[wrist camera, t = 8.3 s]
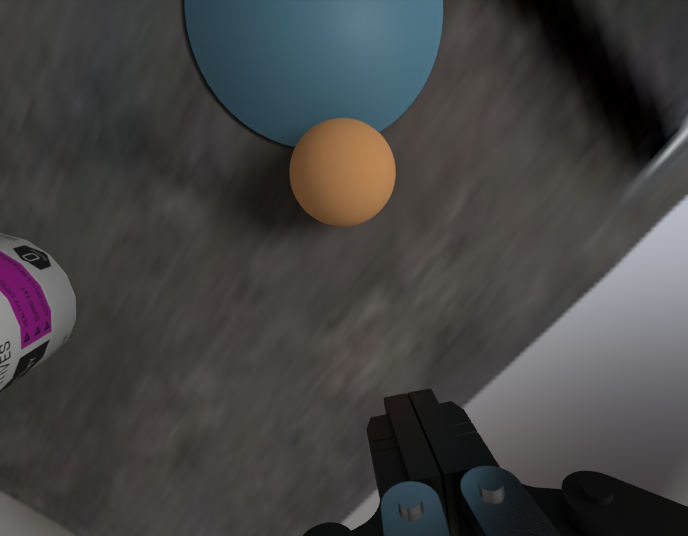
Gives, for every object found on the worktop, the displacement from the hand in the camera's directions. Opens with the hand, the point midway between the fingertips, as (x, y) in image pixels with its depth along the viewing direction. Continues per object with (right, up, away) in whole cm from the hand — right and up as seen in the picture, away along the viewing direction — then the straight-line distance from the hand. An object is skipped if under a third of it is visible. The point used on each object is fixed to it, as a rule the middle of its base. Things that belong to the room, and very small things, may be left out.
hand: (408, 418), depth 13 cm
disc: (-4, +18, +10) cm, 21 cm away
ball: (-2, +10, +9) cm, 13 cm away
